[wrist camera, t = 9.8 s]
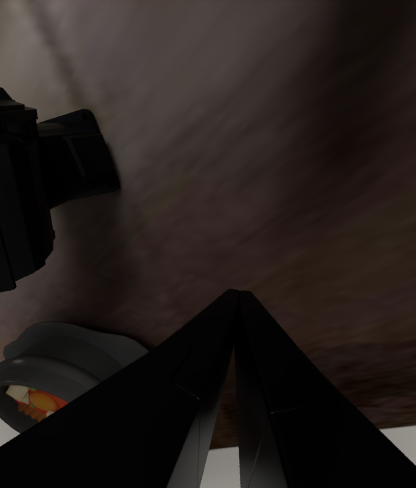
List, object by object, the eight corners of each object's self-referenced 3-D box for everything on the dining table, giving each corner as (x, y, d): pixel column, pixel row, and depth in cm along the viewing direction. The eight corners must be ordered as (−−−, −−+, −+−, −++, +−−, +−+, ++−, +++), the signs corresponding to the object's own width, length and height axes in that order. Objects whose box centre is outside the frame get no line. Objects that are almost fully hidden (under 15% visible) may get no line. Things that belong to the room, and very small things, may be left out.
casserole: (138, 299, 28) (97, 364, 21) (189, 397, 36) (172, 470, 28) (-12, 320, 35) (-82, 374, 28) (58, 398, 42) (17, 457, 35)
